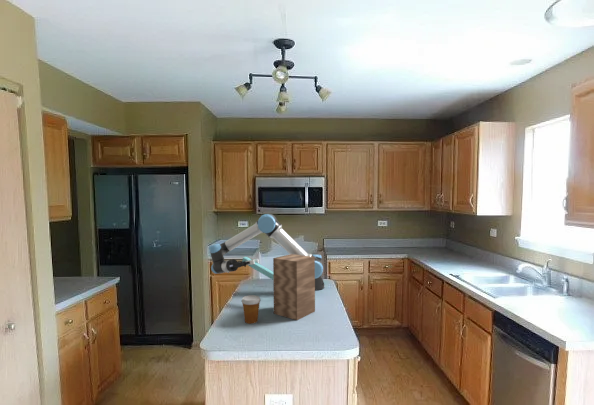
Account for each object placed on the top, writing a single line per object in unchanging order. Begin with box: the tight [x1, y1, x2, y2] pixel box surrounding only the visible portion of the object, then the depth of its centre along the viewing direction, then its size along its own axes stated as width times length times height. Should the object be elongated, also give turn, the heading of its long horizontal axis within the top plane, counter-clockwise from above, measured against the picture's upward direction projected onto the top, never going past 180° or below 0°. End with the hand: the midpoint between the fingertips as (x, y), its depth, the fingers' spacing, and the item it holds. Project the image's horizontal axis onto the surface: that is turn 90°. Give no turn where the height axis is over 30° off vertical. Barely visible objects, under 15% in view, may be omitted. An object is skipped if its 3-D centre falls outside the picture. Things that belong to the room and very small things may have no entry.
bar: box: [241, 256, 273, 281], centre depth 192 cm, size 26×3×3 cm, turn 53°
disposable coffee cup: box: [241, 294, 261, 325], centre depth 163 cm, size 10×10×12 cm
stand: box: [272, 254, 316, 321], centre depth 175 cm, size 16×16×30 cm
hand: (256, 261), depth 194 cm, fingers closed on bar, 3 cm apart
